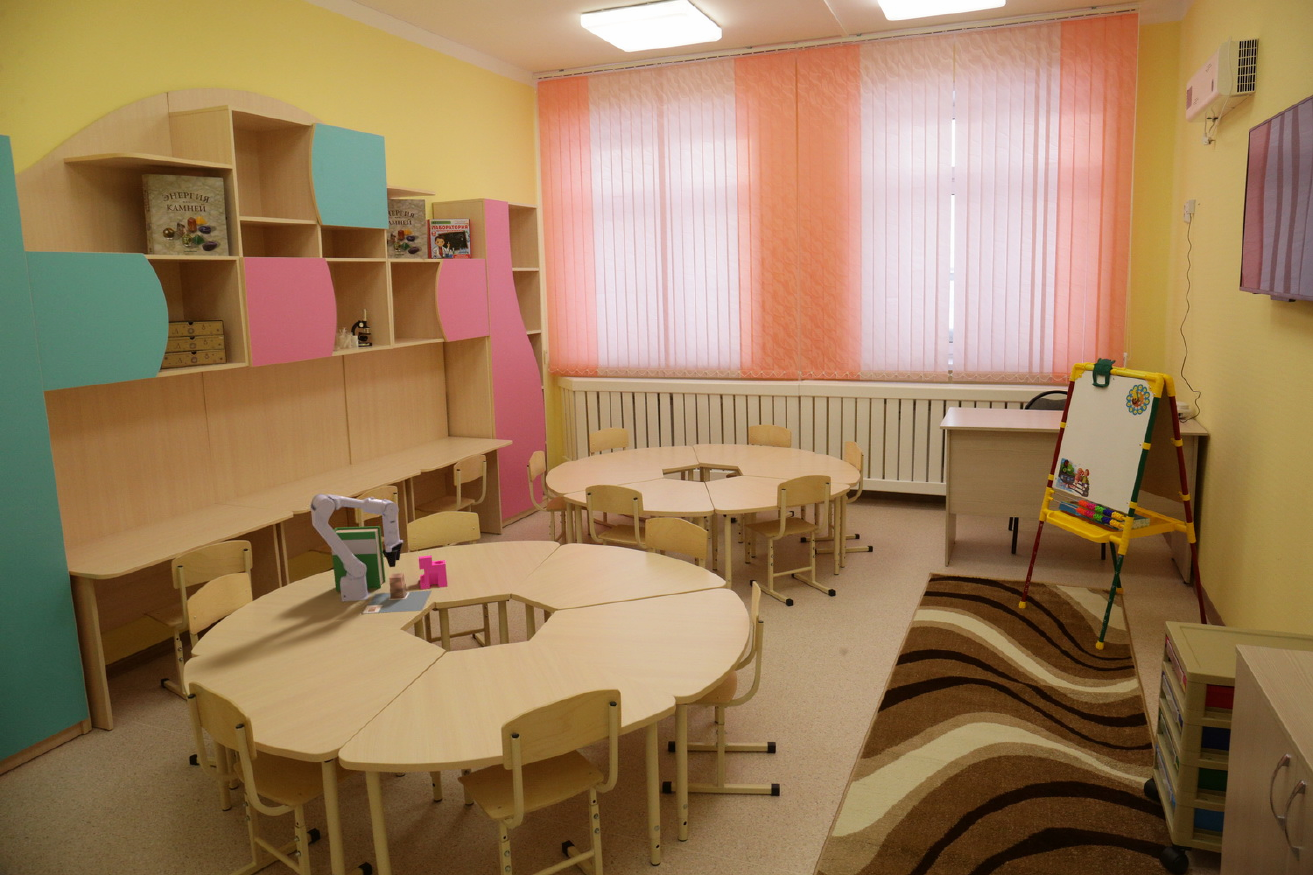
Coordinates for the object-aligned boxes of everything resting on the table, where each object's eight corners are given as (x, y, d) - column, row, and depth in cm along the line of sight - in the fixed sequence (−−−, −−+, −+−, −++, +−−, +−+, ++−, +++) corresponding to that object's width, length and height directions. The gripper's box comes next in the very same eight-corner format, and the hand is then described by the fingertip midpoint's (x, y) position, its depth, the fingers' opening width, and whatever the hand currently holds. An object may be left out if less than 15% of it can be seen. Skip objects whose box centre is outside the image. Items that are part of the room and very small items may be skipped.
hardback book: (385, 582, 362) (380, 526, 357) (380, 589, 354) (374, 531, 350) (342, 584, 362) (336, 527, 357) (336, 590, 354) (329, 533, 350)
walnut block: (390, 598, 343) (389, 589, 342) (393, 593, 348) (392, 584, 347) (403, 598, 343) (402, 588, 342) (406, 593, 348) (405, 583, 347)
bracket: (420, 580, 363) (418, 556, 361) (446, 577, 365) (444, 553, 363) (421, 591, 351) (418, 566, 349) (447, 587, 354) (445, 563, 352)
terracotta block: (390, 588, 342) (389, 577, 341) (393, 584, 346) (392, 573, 345) (402, 588, 342) (401, 577, 341) (404, 584, 346) (403, 573, 346)
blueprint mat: (361, 615, 329) (361, 613, 329) (375, 594, 349) (375, 593, 349) (422, 611, 330) (421, 610, 330) (431, 591, 350) (431, 590, 350)
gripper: (397, 535, 343) (400, 569, 346) (405, 524, 357) (408, 556, 360) (378, 536, 343) (382, 570, 346) (387, 525, 357) (391, 557, 360)
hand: (394, 563), depth 353 cm, fingers open, 7 cm apart
